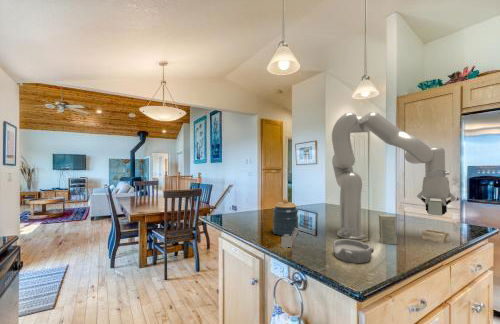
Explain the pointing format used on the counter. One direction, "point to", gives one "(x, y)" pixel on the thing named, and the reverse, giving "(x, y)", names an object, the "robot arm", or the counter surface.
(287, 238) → the lighter
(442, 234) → the beech block
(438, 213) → the grey-green block
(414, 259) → the counter surface
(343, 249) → the dish
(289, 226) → the canister
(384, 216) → the skincare box
